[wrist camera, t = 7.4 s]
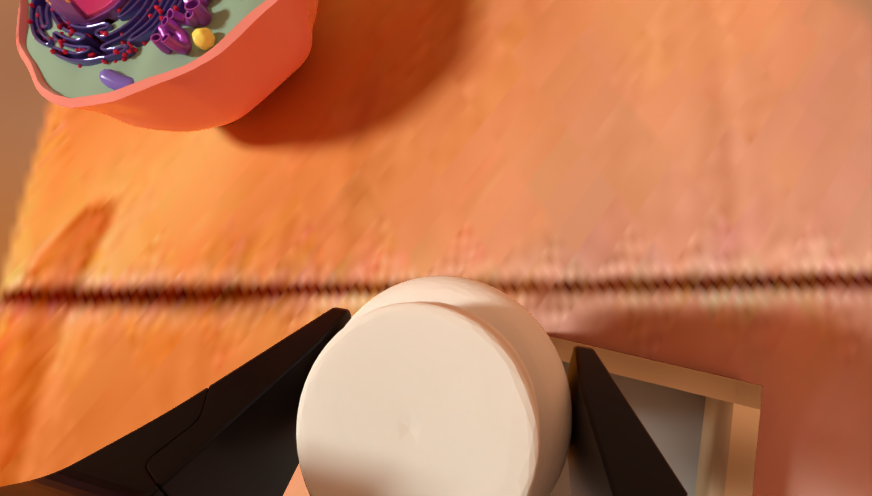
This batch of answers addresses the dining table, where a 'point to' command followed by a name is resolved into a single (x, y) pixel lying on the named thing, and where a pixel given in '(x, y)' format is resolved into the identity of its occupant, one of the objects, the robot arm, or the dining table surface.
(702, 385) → the end holder
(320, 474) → the supplement bottle
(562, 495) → the board
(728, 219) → the dining table surface
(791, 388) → the dining table surface
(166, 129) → the cell model
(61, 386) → the dining table surface
